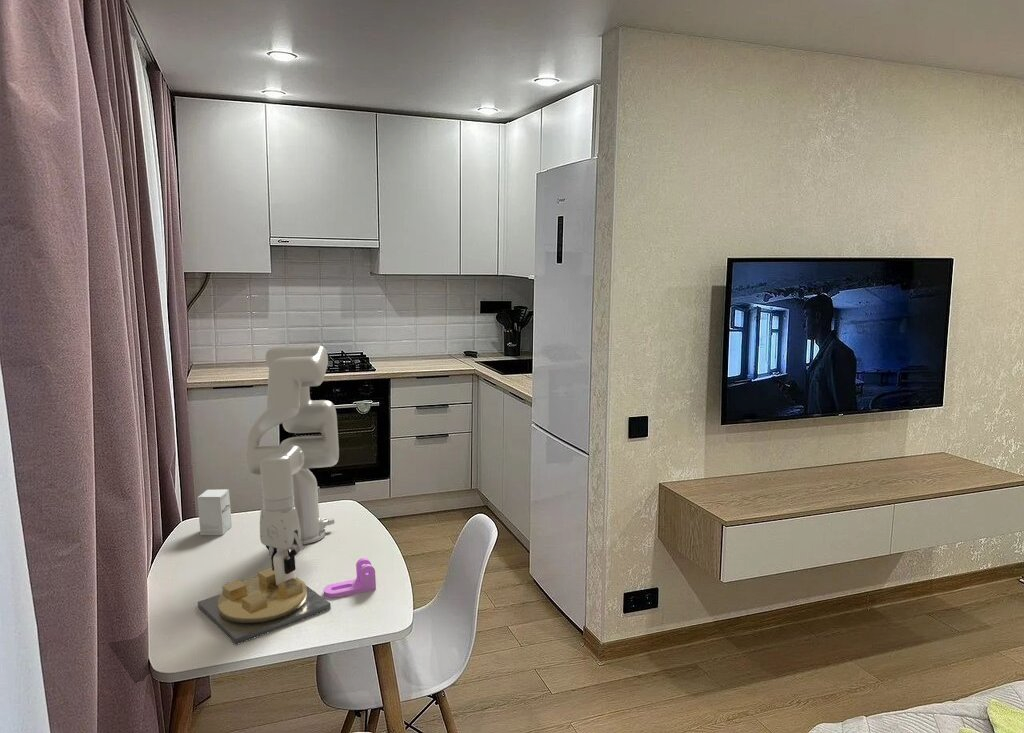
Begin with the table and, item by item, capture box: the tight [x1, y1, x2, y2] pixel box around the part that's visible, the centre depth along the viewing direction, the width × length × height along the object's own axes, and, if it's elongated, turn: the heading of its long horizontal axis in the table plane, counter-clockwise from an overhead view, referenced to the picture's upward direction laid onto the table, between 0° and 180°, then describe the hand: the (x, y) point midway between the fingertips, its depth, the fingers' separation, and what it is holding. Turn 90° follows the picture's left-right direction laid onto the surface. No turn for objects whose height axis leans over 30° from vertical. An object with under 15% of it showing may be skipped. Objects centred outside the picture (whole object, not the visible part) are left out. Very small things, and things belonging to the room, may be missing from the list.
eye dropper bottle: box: [273, 548, 296, 586], centre depth 193 cm, size 4×6×12 cm
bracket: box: [323, 557, 377, 599], centre depth 197 cm, size 13×6×7 cm, turn 114°
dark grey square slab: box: [197, 585, 332, 645], centre depth 189 cm, size 24×24×2 cm
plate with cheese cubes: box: [218, 567, 307, 623], centre depth 188 cm, size 21×21×4 cm
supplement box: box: [196, 488, 233, 536], centre depth 237 cm, size 7×7×13 cm
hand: (283, 569), depth 193 cm, fingers closed on eye dropper bottle, 3 cm apart
